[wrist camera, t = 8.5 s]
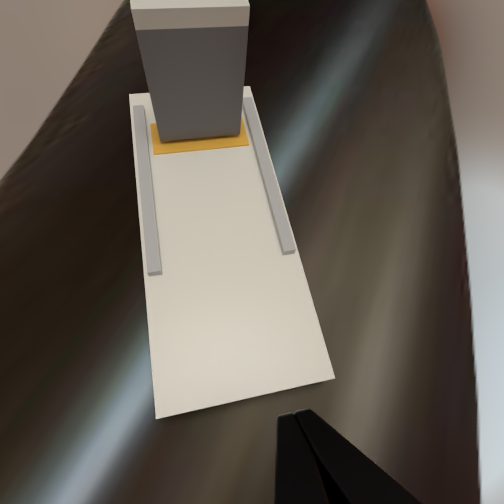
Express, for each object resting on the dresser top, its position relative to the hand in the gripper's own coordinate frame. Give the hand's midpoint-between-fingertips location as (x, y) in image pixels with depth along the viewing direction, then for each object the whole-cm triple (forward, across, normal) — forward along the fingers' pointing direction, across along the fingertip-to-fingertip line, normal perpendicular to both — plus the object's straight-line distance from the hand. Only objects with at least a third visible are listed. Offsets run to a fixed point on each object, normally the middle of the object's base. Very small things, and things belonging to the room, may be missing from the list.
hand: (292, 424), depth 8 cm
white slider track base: (+18, 0, 0) cm, 18 cm away
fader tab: (+21, 0, -7) cm, 23 cm away
